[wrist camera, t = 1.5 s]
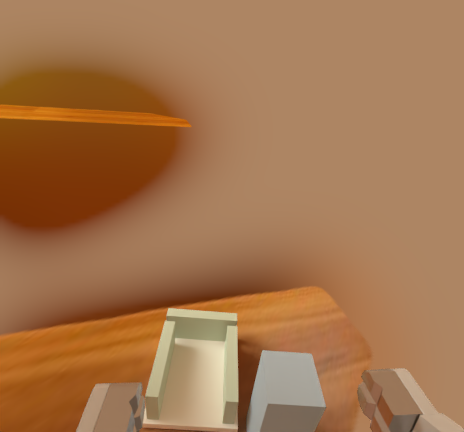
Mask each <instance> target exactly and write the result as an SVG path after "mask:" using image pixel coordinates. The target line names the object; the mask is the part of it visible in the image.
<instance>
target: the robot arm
mask: <svg viewBox="0 0 464 432" xmlns="http://www.w3.org/2000/svg"><path fill="white" fill-rule="evenodd" d="M361 377H362V379H363V382H362V383H361V384H360V385H359V387H358V391H357V393H358V400H359V404H360V407H361V409H362V411H363V413H364V414H365V415H366V416H367V417H368V418H369V419H370V420H371V424H370V428H371V430H372V432H464V429H463V428H462V427H461V426H459V425H458V424H457V423H455V422H454V421H452V420H451V419H450V418H448V417H447V416H445V415H444V414H443V413H442V414H439V413H438V412H437V410H436V409H435V408H434V406H433V405H432V403H431V402H430V401H429V399H428V398H427V397H426V395H425V394H424V392H423V391H422V389H421V388H420V387H419V385H418V384H417V382H416V381H415V380H414V378H413V377H412V375H411V374H410V373H409V371H407V370H406V369H404V368H400V369H379V370H365V371H364V372H363V373H362V376H361ZM142 389H143V388H142V383H141V382H132V383H103V384H96V385H95V387H94V388H93V390H92V392H91V395H90V397H89V400H88V402H87V405H86V407H85V410H84V412H83V415H82V417H81V420H80V422H79V425H78V427H77V430H76V432H139V430H140V429H141V428H142V424H143V419H144V411H145V400H144V396H142V395H141V393H142Z"/></svg>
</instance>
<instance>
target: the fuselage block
mask: <svg viewBox="0 0 464 432" xmlns="http://www.w3.org/2000/svg"><path fill="white" fill-rule="evenodd" d="M325 408H326V405H325V401H324V398H323V394H322V390H321V387H320V383H319V379H318V375H317V372H316V368H315V364H314V361H313V357H312V354H308V353H294V352H280V351H266V350H262V354H261V358H260V362H259V367H258V371H257V375H256V379H255V383H254V388H253V392H252V396H251V400H250V405H249V409H248V413H247V417H246V426H247V432H315V430H316V428H317V425H318V423H319V421H320V419H321V417H322V415H323V413H324V411H325Z"/></svg>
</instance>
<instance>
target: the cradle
mask: <svg viewBox="0 0 464 432" xmlns="http://www.w3.org/2000/svg"><path fill="white" fill-rule="evenodd" d="M236 325H237V313H224V312H211V311H198V310H185V309H172V308H168V312H167V321H165V323H164V327H163V331H162V335H161V338H160V342H159V346H158V350H157V353H156V357H155V361H154V365H153V369H152V372H151V376H150V380H149V384H148V387H147V391H146V395H145V401H146V408H145V412H144V419H143V424H142V428H159V429H177V430H194V431H211V432H237V431H238V340H237V326H236Z"/></svg>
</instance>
